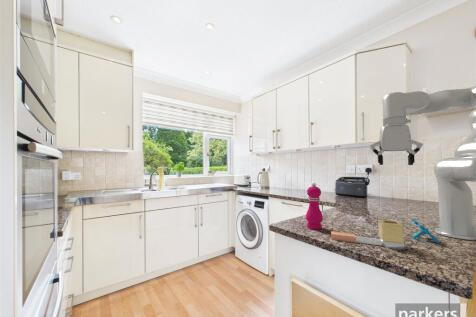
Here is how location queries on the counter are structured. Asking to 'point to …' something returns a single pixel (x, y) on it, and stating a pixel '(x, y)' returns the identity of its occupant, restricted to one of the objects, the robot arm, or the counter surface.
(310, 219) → the pepper mill
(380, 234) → the olive open-top box
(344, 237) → the ratchet
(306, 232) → the counter surface
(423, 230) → the teal branched frame
